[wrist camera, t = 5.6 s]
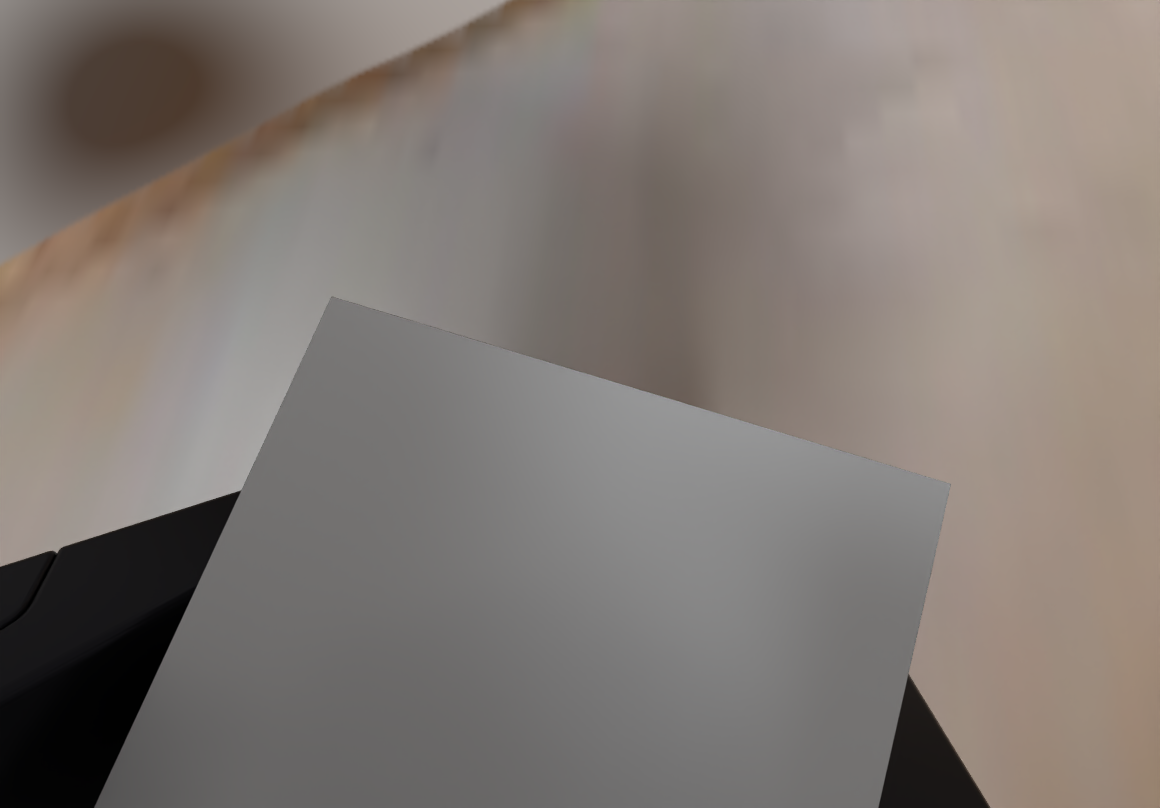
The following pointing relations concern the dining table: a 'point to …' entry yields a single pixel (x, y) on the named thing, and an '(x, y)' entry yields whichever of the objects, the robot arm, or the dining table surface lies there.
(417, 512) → the grey-topped peach block
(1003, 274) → the dining table surface
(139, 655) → the robot arm
